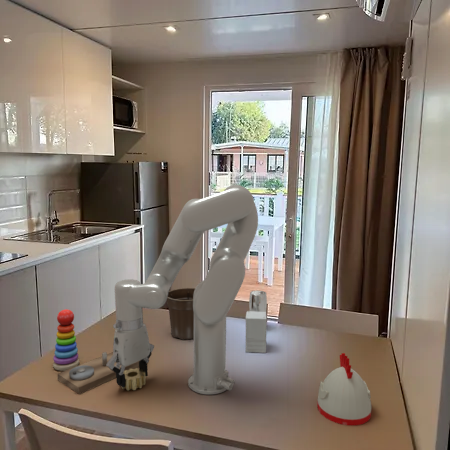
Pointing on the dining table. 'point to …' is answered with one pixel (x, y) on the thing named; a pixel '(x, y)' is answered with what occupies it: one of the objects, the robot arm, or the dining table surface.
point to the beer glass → (258, 301)
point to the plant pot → (181, 312)
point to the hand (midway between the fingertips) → (132, 379)
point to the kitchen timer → (344, 396)
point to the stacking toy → (65, 342)
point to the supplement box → (256, 331)
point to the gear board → (90, 374)
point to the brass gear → (134, 379)
